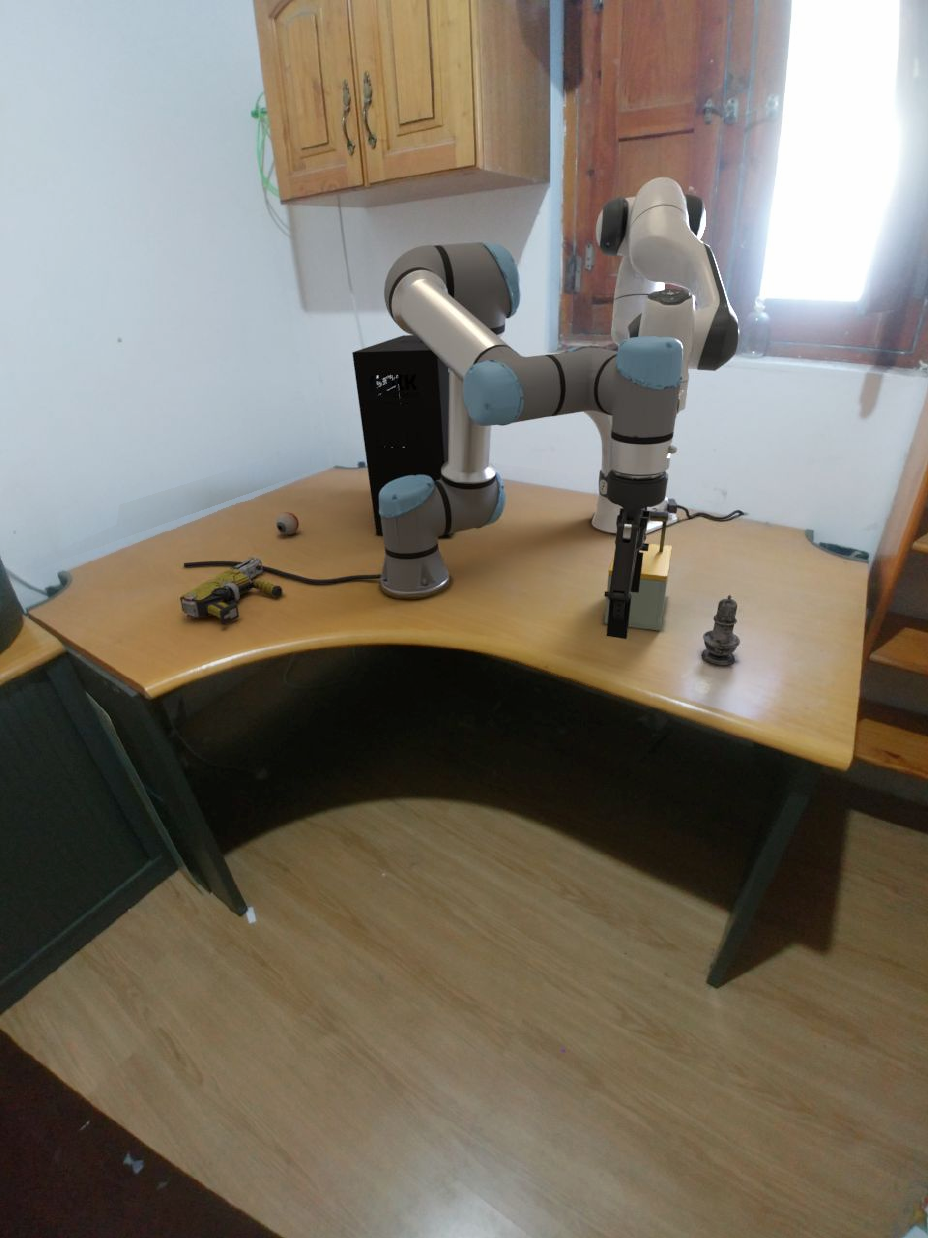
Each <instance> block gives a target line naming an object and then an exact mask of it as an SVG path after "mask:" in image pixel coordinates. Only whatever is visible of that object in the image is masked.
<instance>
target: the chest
mask: <svg viewBox="0 0 928 1238" xmlns="http://www.w3.org/2000/svg"><path fill="white" fill-rule="evenodd" d="M670 559H671V557H670ZM670 564H671V563H670ZM670 564H669V567H670V566H671V565H670ZM669 573H670V569H669V570H668V574H669ZM668 580H669V576H668V577H667V581H660V580H650V579H641V578H640V587H639V593H636V592H631V595H632V597H631V606H630V616H629V625H628V628H637V629H644V630H651V631H661V630H662V621H663V615H664V609H665V603H666V595H667V589H668V588H667V587H668ZM610 583H611V575H607V586H606V587H607V589H606V591H607V592H609V590H610ZM605 601H606V602H605V614H604V615H605V616H604V624H605V625H608V613H609V602H610V600H609V599H608V597H606V600H605Z"/></svg>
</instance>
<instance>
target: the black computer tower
mask: <svg viewBox="0 0 928 1238" xmlns="http://www.w3.org/2000/svg"><path fill="white" fill-rule="evenodd" d="M351 354H352V361H353V367H354V376H355V384H356V391H357V399H358V406H359V407H358V408H359V415H360V421H361V428H362V436H363V444H364V452H365V458H366V459H365V461H366V466H367V474H368V481H369V489H370V496H371V503H372V504H371V505H372V511H373V518H374V519H373V520H374V527H375V535H376V536H383V532H382V524H381V516H380V514H379V493H380V491H381V489H382V488H383V487H384V486H385V485H386V484H387V483H389V482H391V481H393V480H395V479H398V478H401V477H405V476H410V475H414V476H416V475H427V476H429V477H431V478H432V479H433V481H436V480H440V479H441V467H442V466H443V465H444V464H445V463H446V462H447V461H448V426H449V368H448V367H447V366H446V365H445V364H444V363H443V361H442V360H441V359H440V358H439V357H438V356H437V355H436V354H435V353H434V352H433V351H432V350H431V349H430V348H429V347H428V346H427V345H426V344H425V343H424V342H423V341H422V340H421V339H420V338H419V337H418V336H417V335H411V334H407V335H406V334H405V335H404V334H403V335H399V336H397V337H395V338H391V339H388V340H386V341H382V342H380V343H376V344H373V345H370V346H367V347H364V348H361V349H358V350H355V351H352V352H351ZM452 535H453V533H451V534H447V535H442V536H439V537H438V538H446V539H447V538H448V539H450V538H451V536H452Z"/></svg>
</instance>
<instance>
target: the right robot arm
mask: <svg viewBox="0 0 928 1238" xmlns="http://www.w3.org/2000/svg"><path fill="white" fill-rule="evenodd" d="M706 215H707V214H706V205H705V202H704V201H703V199H702V198H701V197H700V196H697V195H692V194H687V193H686V194H685V195H684V193H683V190H682V187H681V186H680V184H679V183H678V182H677V181H676V180H675V179H673V178H671V177H667V176H659V177H656V178H652V179H650V180H649V181H647V182H645V184H643V185H642V186H641V187H640V189H638V192H637V193H636V195H635V196H630V197H622V196H619V197H616V198H615V197H614V198H613V199H609V200H608V201H606V203H605V204H603V206H602V208H601V211H600V213H599V215H598V217H597V221H596V226H595V237H596V242H597V245H598V249H599V251H600V252H601V253H602V254H603V255H606V256H610V257H615V258H616V257H617V256H621V261H620V264H619V267H618V272H617V276H616V281H615V286H614V287H615V288H614V294H613V295H614V296H613V305H612V317H611V318H612V319H611V327H610V328H611V329H610V335H611V339H612V341H613V342H614V344H615V345H617V346H619V344H620V343H621V342H622V341H623V340H625V339H628V338H634V337H646V336H656V337H671V338H675V339H677V340H679V341H680V342H681V343H682V346H683V362H682V376H683V377H682V381H681V384H680V390H679V397H678V404H677V411H676V417H677V415H679V414H680V412H681V411H684V410H685V409H686V404H687V397H688V392H689V381H690V374H689V370H697V371H709V372H710V371H711V372H712V371H713V372H715V371H717V370H719V369H720V368H723V366H724V365H726V364H727V363H728V362H730V360H731V359H732V358H733V357H735V355H736V352H737V349H738V345H739V339H740V327H739V320H738V317H737V315H736V313H735V311H734V310H733V307H732V306H731V305H730V302H729V299H728V295H727V293H726V289H725V286H724V283H723V280H722V276H721V273H720V270H719V267H718V264H717V260H716V258H715V255H714V253H713V251H712V248H711V247H710V245H709V244H707V243H706V242H704V241H702V240H701V238H702V237H703V234H704V230H705V228H706V222H707V221H706V220H707V217H706ZM665 285H672V286H676V287H680V288H683V289H680V288H679V289H678V288H668V289H665ZM696 307H697V308H696ZM582 413H584V414H586V415H587V416H588V417H589V418H590V420H592V422H593V424H594V425H595V427H596V429H597V431H598V434H599V436H600V437H599V438H600V443H601V468H600V470H599V474H598V492H599V493H598V498H597V502H596V507H595V511H594V514H593V517H592V520H591V525H592V526H593V527H594V528H595V529H597V530H599V531H601V532H605V533H611V534H616V533H617V526H616V521H617V516H618V515H619V513H620V508H622V507H621V506H619V505H616V504H614V503H612V502H610V501H609V500H608V498H607V481H608V473H609V472H610V470H611V469H610V468H609V466H608V462H609V449H610V436H611V430H612V416H611V415H608V414H604V413H601V412H598V411H583V412H582ZM678 509H681V510H682V511H684V512H685V515H686V517H687V518H688V519H693V518H695V517H697V516H704V517H707V518H710V519H712V520H716V521H722V520H727V519H729V518H731V517H733V516H735V514H739V515H741V516H744V515H745V513H744V511H742V510H740V509H736V510H733V511H732V512H730V513H729V514H727V515H725V516H715V515H712V514H710V513H707V512H701V511H698V512H695V513H693V514H691V515H690V511H689V509H688V508H687V507H685V506H683V505H680V504H678V503H677V501H676V499H675V498H668V497H667V496H666V497H665V500H664V501H663V502H662V503H661V504H659V505H657V506H653V507H647V510H649V511H660V512H669V515H668V522H667V524H666V527H668V526H670V525H672V524H675V523H677V522H678V516H677V515H676V514H677V513H678ZM662 524H663V522H658V521H649V522H648V525H647V530H646V534H650V533H652V532H654V531H657V530H660V529H662Z"/></svg>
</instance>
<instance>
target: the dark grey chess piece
mask: <svg viewBox="0 0 928 1238" xmlns="http://www.w3.org/2000/svg"><path fill="white" fill-rule="evenodd" d="M737 610H738V603H737V602H736V600H735V599H732V595H731V594H729V595H728V596H727V598H723V599H720V601H719V602H718V605H717V610H716V615H714V616H713V622H714V624H713V628H712V629H711V630H707V631H705V633H703V635H702V639H703V642H704V646H705V649H703V650H702V652H701V656H702V658H703V659H704V660H705V661H706V662H708V663H710V664H714V665H718V666H727V665H731V664H732V663H734V661H735V659H736V657H735V654H733V653H734V652H735V651H736V650H737V648H738V647H739V646H740V644H741V639H740V638H739V636H737V635H736V634H734V628H735V625H736V624H737V623H738V620H737V618H736V615H737Z"/></svg>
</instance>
